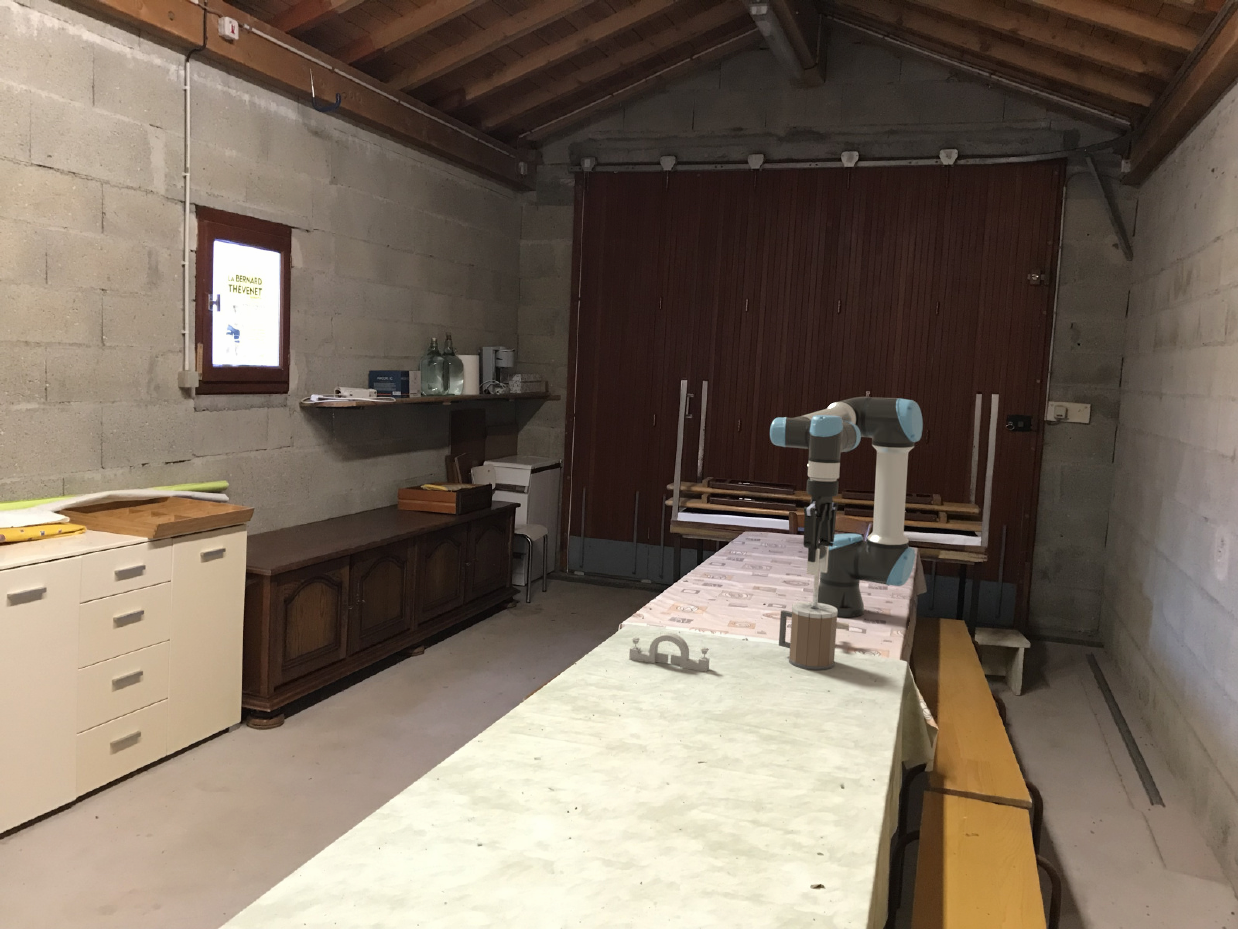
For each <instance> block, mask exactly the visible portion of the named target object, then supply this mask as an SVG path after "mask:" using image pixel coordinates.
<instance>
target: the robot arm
mask: <svg viewBox="0 0 1238 929" xmlns="http://www.w3.org/2000/svg"><path fill="white" fill-rule="evenodd" d="M923 427H924V423H923V416H922V411H921V408H920V406H919V404H918V403H917V402H916V401H914V400H913V399H906V398H899V397H898V398H897V397H896V398H895V397H873V396H872V397H871V396H858V397H857V396H856V397H851V398H848V399H844V400H840V401H836V402H833V403H831V404H830V405H829V406H828V407H827V408H825V409H821V410H817V411H814V412H811V413H807V414H804V415H801V416H796V417H787V416H785V417H779V416H778V417H776V418H774V419H773V420H772V422H771V424H770V428H769V439H770V441H771V443H772V444H773V445H775V446H778V447H783V448H796V449H797V448H798V449H805V450H806V449H807V450H808V463H807V466H806V467H807V476H808V479H807V481H806V490H805V491H806V494H808V495H810V497H811V499H810V502H809V506H804V507H803V515H804V522H803V544H802V545H803V547H804V548H806V549H808V550H807V560H806V561H807V564H806V565H807V566H806V574H807V575H811V576H814V575H815V576H818V569H819V554H820V549H818V544H819V543H821V544H823V545H824V546H825V547H826V549H827V553H826V556H825V557H824V558H822V559H820V573H819V588H818V603H823V604H827V605H831V606H834V607H835V608H837V611H838V613H837V618H838V617H841V618H853V617H859V616H862V615H864V611H865V610H864V609H865V606H864V604H865V603H864V601H863V597H862V593H861V589H860V581H862V582H863V581H864V582H868V583H869V582H870V583H875V584H882V585H885V586H889V587H890V586H895V587H902V586H903V585H905V584H906V583H907V582H908V580H909V579H910V577H911V575H912V572H913V568H914V564H915V559H916V552H915V549H914V548H912V547H911V546H909V541H910V540H909V538H908V537H907V536H906V535H905V534H904V531H905V530H904V529H905V516H906V515H905V514H906V498H907V496H906V495H907V481H908V480H907V477H908V463H909V462H908V460H909V452H910V451H911V450H912V449H914V448H915V443H916V442H919V441H920V440H921V439H922V433H923ZM861 438H871V446H872V447H873V448H874V449H875V450H876V465H875V484H874V485H875V486H874V502H873V504H874V506H873V519H872V520H873V522H872V532H871V533H870V534H869V535H868V536H867V537H866V541H865V540H864V537H863V535H862V534H859V533H837V534H835V532H836V519H837V511H838V507H839V503H838V502H834V500H833V498H834V497H837V496H838V494H839V481H838V479H840V467H841V454H842V453H843V452H844V453H847V452H850V451H852V450H854V449H856V448H857V447H858V446H859V445H860V442H861Z"/></svg>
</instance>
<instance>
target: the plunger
mask: <svg viewBox="0 0 1238 929" xmlns="http://www.w3.org/2000/svg"><path fill="white" fill-rule="evenodd" d="M818 549H820V554H819V569H818V576H815V575H813V576H814V577H813V590H812V602H813V605H812V609H816V610H817V604H818V588H819V583H820V559H822V558H824V557H825V556H826V553H827V549H826V547H825V546H824V545H823V544H821V543H820V542H819V544H818Z"/></svg>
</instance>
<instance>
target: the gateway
mask: <svg viewBox="0 0 1238 929" xmlns="http://www.w3.org/2000/svg"><path fill="white" fill-rule="evenodd" d="M640 640H641V638H639V637H636V636H634V637H633V638H632V639H631V641H632V644H634V646H631V647H630V648H629V657H628V658H629V659H628V660H632V661H638V662H643V661H645V662H644V663H649V664H655V663H657V662H658V663H663V664H669V653H668V654H667V653H661V652H658V651H659V645H660V643H662V642H671V643H673V644H674V645H675V646H677V647H678V649H679V651H680V655H676V654H670V665H675V666H676V665H677V666H680V668H681V667H683V668H682V669H688V670H694V671H700V672H707V671H708V670H709V669H710V657H707V656H706V655H707V653H708V651H709V650H710V648H708V647H705V646H704V647H702V648H701V649H700V651H701V654H702V655H703V656H701V657H700V658H699V659H694V658H690V648H689V646H688V643H687V642H686V641H685V639H684V638H682V637H681V636H680V635H679V634H676V633H673V632H666V633H662V634H660V635H658V636H657V637H655V638H654V639H653V641H652V642H651V643H650V645H649V651H643V650H642V649H641V648H642V647H641V646H640V647H639V646H637V645H638V644H639V642H640Z"/></svg>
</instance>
